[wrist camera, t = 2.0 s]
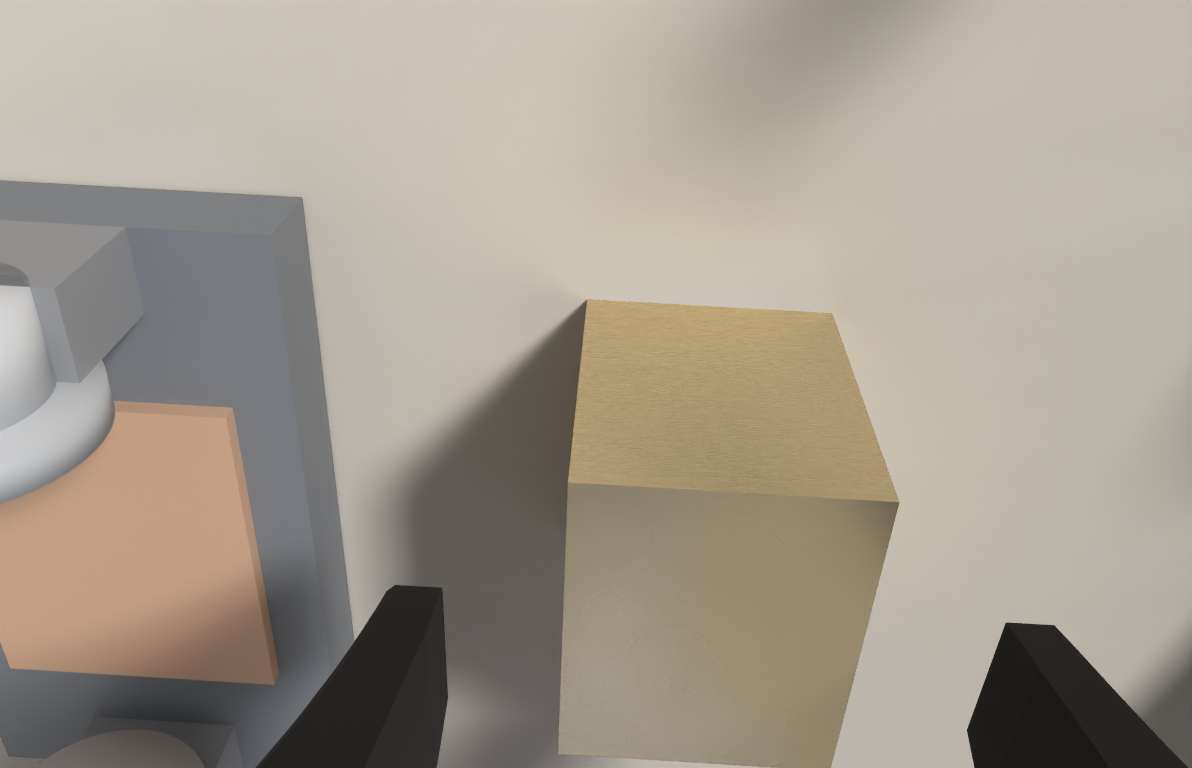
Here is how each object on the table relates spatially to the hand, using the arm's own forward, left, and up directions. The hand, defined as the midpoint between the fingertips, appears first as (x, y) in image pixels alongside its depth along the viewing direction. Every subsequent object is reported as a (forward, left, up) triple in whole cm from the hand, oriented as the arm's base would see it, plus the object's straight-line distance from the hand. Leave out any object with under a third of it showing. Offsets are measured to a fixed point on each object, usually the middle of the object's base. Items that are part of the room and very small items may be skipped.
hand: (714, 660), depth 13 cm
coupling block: (0, 0, -5) cm, 5 cm away
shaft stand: (-2, +10, -5) cm, 12 cm away
